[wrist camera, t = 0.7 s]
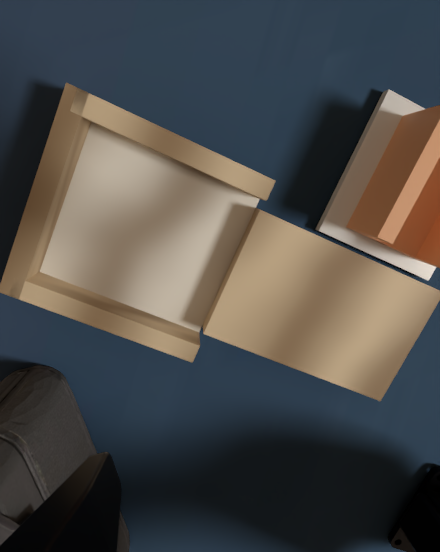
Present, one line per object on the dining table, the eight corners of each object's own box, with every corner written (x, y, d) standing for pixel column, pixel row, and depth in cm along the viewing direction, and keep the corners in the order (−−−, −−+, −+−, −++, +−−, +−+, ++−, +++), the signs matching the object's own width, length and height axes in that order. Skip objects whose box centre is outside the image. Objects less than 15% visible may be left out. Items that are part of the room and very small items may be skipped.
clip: (475, 154, 20) (534, 149, 16) (416, 259, 21) (460, 275, 18) (402, 115, 19) (448, 102, 16) (345, 227, 20) (377, 236, 17)
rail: (440, 261, 22) (465, 269, 20) (357, 407, 24) (371, 428, 22) (79, 92, 18) (66, 82, 16) (16, 280, 20) (-3, 291, 18)
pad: (493, 151, 20) (502, 151, 20) (422, 278, 22) (428, 280, 21) (382, 92, 19) (388, 89, 19) (315, 229, 21) (318, 230, 20)
